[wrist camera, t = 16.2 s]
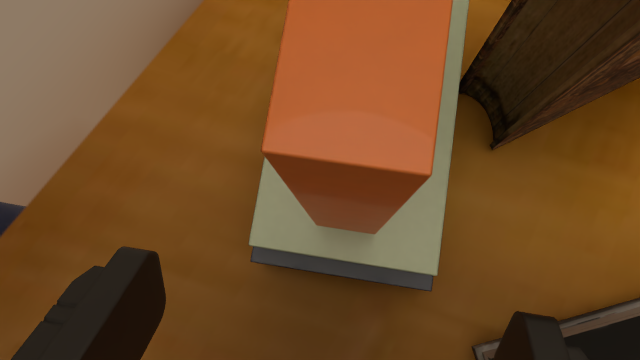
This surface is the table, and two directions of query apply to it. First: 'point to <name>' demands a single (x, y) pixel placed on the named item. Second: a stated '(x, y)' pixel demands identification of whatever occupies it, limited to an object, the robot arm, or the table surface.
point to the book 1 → (552, 61)
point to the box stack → (394, 237)
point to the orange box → (357, 106)
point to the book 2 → (594, 334)
